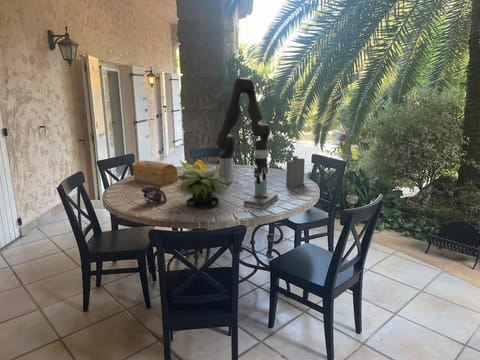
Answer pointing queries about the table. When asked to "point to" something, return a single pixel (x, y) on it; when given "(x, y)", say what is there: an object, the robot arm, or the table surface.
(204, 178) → the fern plant
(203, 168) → the fruit bowl
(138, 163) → the wooden box
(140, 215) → the table surface
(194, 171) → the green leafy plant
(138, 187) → the table surface
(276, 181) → the table surface
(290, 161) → the hip flask
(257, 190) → the plug
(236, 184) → the table surface
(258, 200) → the block
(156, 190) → the dark grey rounded piece
